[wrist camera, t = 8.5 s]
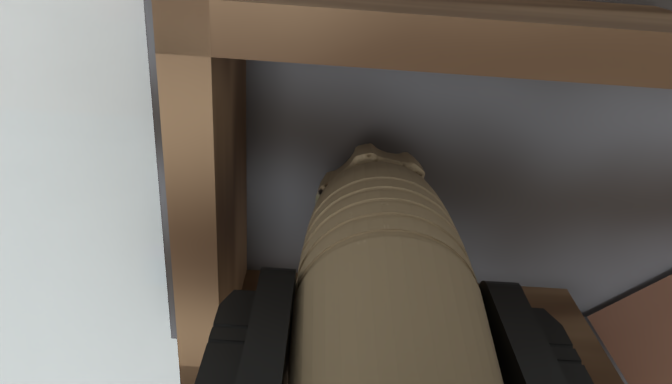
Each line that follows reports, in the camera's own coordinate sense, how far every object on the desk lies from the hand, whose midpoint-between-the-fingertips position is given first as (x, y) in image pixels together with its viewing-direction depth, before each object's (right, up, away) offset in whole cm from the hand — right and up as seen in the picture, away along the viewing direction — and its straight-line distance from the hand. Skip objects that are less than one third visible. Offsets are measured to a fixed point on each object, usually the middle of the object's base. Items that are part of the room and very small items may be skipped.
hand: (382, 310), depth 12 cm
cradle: (+4, +4, +8) cm, 10 cm away
